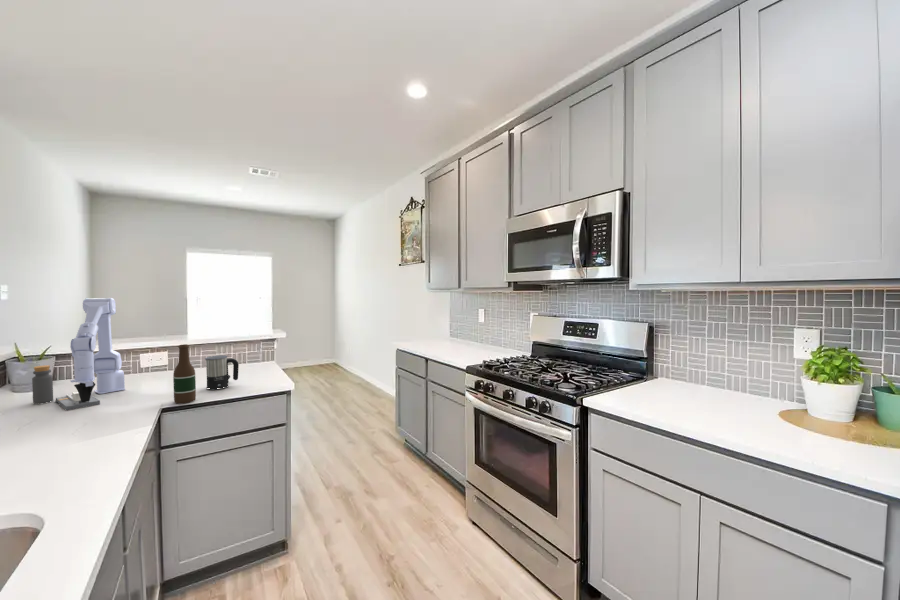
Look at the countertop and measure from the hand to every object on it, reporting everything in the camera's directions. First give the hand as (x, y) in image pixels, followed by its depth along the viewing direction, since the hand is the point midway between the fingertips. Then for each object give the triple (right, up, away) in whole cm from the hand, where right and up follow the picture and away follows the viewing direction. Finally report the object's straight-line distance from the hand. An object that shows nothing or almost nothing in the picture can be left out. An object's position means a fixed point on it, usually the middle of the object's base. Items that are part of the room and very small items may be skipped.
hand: (85, 401), depth 155 cm
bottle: (-25, -3, +8) cm, 26 cm away
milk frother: (+32, -2, +36) cm, 48 cm away
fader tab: (-5, -1, +4) cm, 7 cm away
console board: (-10, -3, +7) cm, 13 cm away
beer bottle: (+32, -3, +11) cm, 34 cm away
